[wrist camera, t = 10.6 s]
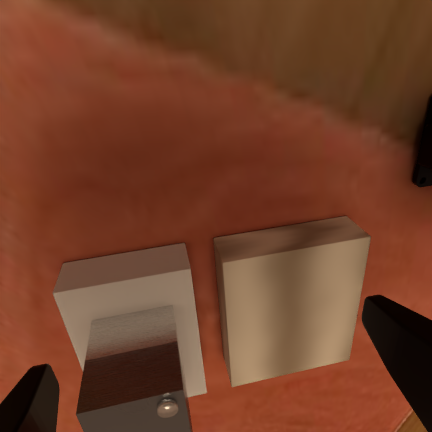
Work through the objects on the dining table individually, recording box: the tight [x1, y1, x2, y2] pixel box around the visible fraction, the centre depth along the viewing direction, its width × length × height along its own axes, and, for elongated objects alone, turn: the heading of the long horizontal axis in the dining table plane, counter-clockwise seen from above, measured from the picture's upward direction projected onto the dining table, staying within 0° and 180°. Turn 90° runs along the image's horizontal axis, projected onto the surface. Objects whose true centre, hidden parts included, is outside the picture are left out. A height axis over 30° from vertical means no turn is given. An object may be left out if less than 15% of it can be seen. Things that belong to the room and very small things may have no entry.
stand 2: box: [213, 216, 371, 387], centre depth 26 cm, size 10×12×3 cm
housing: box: [76, 305, 193, 432], centre depth 20 cm, size 5×7×6 cm
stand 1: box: [53, 243, 207, 397], centre depth 24 cm, size 8×12×3 cm, turn 5°
